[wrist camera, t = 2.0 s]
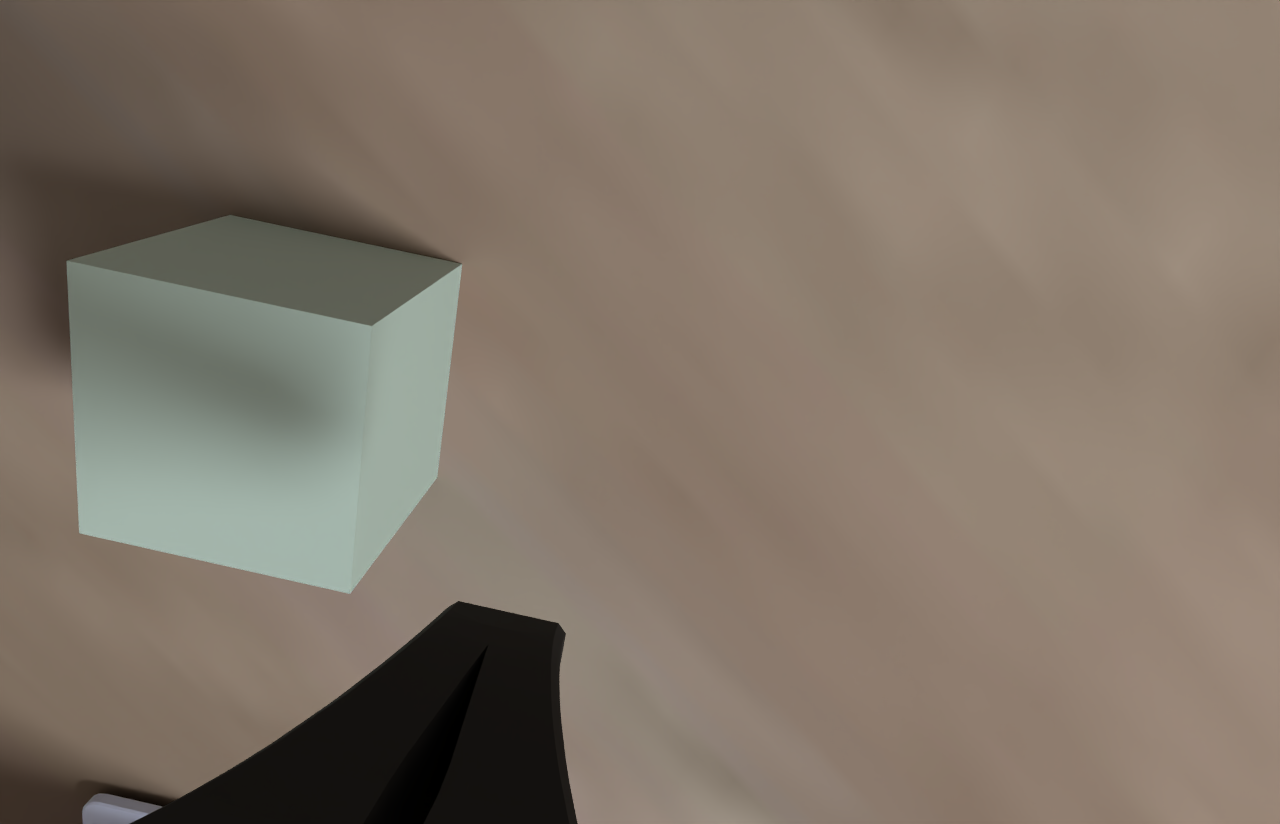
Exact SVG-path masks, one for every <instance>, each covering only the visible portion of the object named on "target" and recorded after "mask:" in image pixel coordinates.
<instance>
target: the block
mask: <svg viewBox="0 0 1280 824" xmlns="http://www.w3.org/2000/svg"><path fill="white" fill-rule="evenodd" d="M461 270H462V264H460V263H455V262H451V261H446V260H441V259H437V258H432V257H427V256H422V255H418V254H413V253H408V252H403V251H399V250H394V249H389V248H385V247H380V246H375V245H370V244H366V243H361V242H356V241H351V240H347V239H342V238H337V237H332V236H328V235H323V234H318V233H314V232H309V231H304V230H299V229H295V228H290V227H285V226H280V225H276V224H271V223H266V222H262V221H257V220H252V219H247V218H243V217H238V216H233V215H228V216H224V217H221V218H217V219H213V220H210V221H206V222H203V223H199V224H196V225H192V226H188V227H185V228H181V229H178V230H174V231H171V232H167V233H163V234H160V235H156V236H153V237H149V238H146V239H142V240H138V241H135V242H131V243H128V244H124V245H121V246H117V247H113V248H110V249H106V250H103V251H99V252H96V253H92V254H89V255H85V256H81V257H78V258H74V259H71V260H67V282H68V303H69V324H70V346H71V367H72V388H73V410H74V431H75V452H76V474H77V495H78V516H79V533H81V534H85V535H90V536H94V537H99V538H103V539H108V540H112V541H117V542H121V543H126V544H130V545H134V546H139V547H143V548H148V549H152V550H157V551H161V552H166V553H170V554H175V555H179V556H184V557H188V558H193V559H197V560H201V561H206V562H210V563H215V564H219V565H224V566H228V567H233V568H237V569H242V570H246V571H251V572H255V573H260V574H264V575H268V576H273V577H277V578H282V579H286V580H291V581H295V582H300V583H304V584H309V585H313V586H318V587H322V588H327V589H331V590H335V591H340V592H344V593H349V594H350V593H351V592H352V590H353V589H354V588H355V586H356V585H357V584H358V582H359V581H360V580H361V578H362V577H363V576H364V574H365V573H366V572H367V570H368V569H369V568H370V566H371V565H372V564H373V562H374V561H375V560H376V558H377V557H378V556H379V554H380V553H381V552H382V550H383V549H384V548H385V546H386V545H387V544H388V542H389V541H390V540H391V538H392V537H393V536H394V534H395V533H396V532H397V530H398V529H399V528H400V526H401V525H402V524H403V522H404V521H405V520H406V518H407V517H408V516H409V514H410V513H411V512H412V510H413V509H414V508H415V506H416V505H417V504H418V502H419V501H420V500H421V498H422V497H423V496H424V494H425V493H426V492H427V490H428V489H429V488H430V486H431V485H432V484H433V482H434V481H435V480H436V478H437V474H438V466H439V457H440V449H441V440H442V432H443V423H444V415H445V406H446V398H447V389H448V380H449V372H450V363H451V355H452V346H453V338H454V329H455V321H456V312H457V304H458V295H459V287H460V278H461Z"/></svg>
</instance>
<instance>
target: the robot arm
mask: <svg viewBox="0 0 1280 824" xmlns="http://www.w3.org/2000/svg"><path fill="white" fill-rule="evenodd" d="M565 635H566V633H565V632H564V631H563V629H562V628H561V626H560V625H559V623H555V622H550V621H546V620H541V619H537V618H532V617H528V616H523V615H519V614H514V613H510V612H505V611H501V610H496V609H491V608H487V607H482V606H478V605H473V604H469V603H464V602H460V601H458V602H456V603H455V604H453V605H451V606H449V607H448V608H447V609H446V610H445V611H443V612H442V613H441V614H440V615H439V616H438V617H437V618H436V619H434V620H433V621H432V622H431V623H430V624H429V625H428V626H426V627H425V628H424V629H423V630H422V631H421V632H420V633H418V634H417V635H416V636H415V637H414V638H413V639H411V640H410V641H409V642H408V643H407V644H405V645H404V646H403V647H402V648H401V649H399V650H398V651H397V652H396V653H395V654H393V655H392V656H391V657H390V658H388V659H387V660H386V661H385V662H384V663H382V664H381V665H380V666H378V667H377V668H376V669H374V670H373V671H372V672H371V673H369V674H368V675H367V676H365V677H364V678H363V679H362V680H360V681H359V682H358V683H356V684H355V685H354V686H352V687H351V688H350V689H349V690H347V691H346V692H345V693H343V694H342V695H341V696H339V697H338V698H337V699H335V700H334V701H333V702H331V703H330V704H328V705H327V706H326V707H324V708H323V709H321V710H320V711H318V712H317V713H315V714H314V715H312V716H311V717H310V718H308V719H307V720H305V721H304V722H302V723H301V724H299V725H298V726H296V727H295V728H294V729H292V730H291V731H289V732H288V733H286V734H285V735H283V736H282V737H280V738H279V739H278V740H276V741H275V742H273V743H272V744H270V745H268V746H267V747H265V748H264V749H262V750H261V751H259V752H257V753H256V754H254V755H253V756H251V757H249V758H248V759H246V760H245V761H243V762H241V763H240V764H238V765H236V766H235V767H233V768H231V769H230V770H228V771H226V772H225V773H223V774H221V775H219V776H218V777H216V778H214V779H213V780H211V781H209V782H207V783H206V784H204V785H202V786H200V787H199V788H197V789H195V790H193V791H192V792H190V793H188V794H186V795H184V796H183V797H181V798H179V799H177V800H175V801H173V802H171V803H169V804H167V805H165V806H163V807H162V806H158V805H154V804H149V803H145V802H141V801H136V800H132V799H128V798H123V797H119V796H115V795H110V794H103V793H99V794H96V795H94V796H93V797H92V798H91V799H90V800H89V801H88V802H87V803H86V804H85V805H84V807H83V810H82V819H83V824H577V819H576V815H575V809H574V804H573V799H572V794H571V789H570V784H569V778H568V771H567V765H566V759H565V750H564V741H563V733H562V724H561V713H560V692H559V672H560V662H561V657H562V652H563V646H564V641H565Z"/></svg>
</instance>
